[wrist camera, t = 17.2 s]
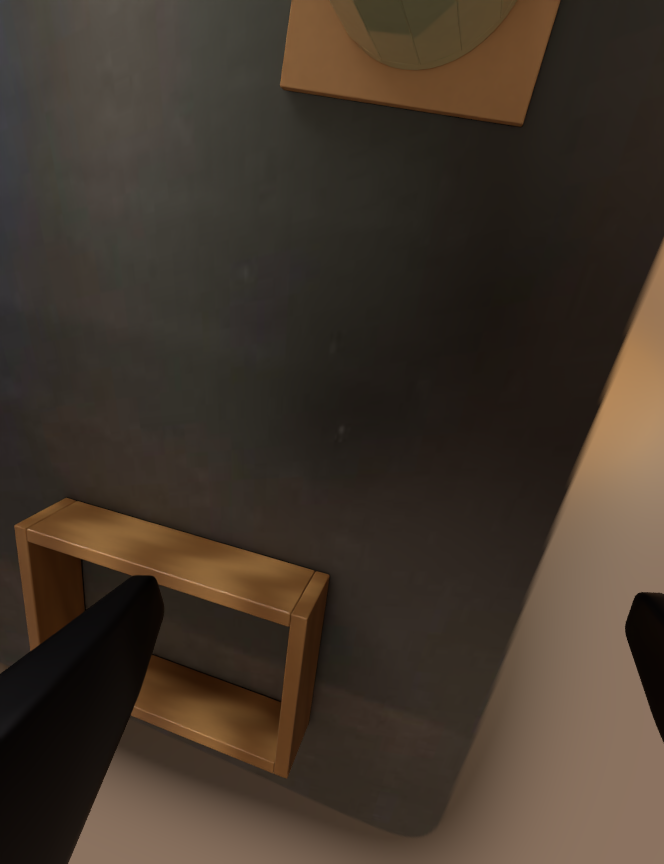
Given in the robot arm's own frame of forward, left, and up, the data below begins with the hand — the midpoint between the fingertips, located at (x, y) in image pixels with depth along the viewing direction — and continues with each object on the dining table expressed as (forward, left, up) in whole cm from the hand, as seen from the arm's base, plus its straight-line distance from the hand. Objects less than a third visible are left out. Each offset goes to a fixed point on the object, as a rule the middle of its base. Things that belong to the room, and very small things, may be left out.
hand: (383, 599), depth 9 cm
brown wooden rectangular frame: (+11, +16, -12) cm, 23 cm away
